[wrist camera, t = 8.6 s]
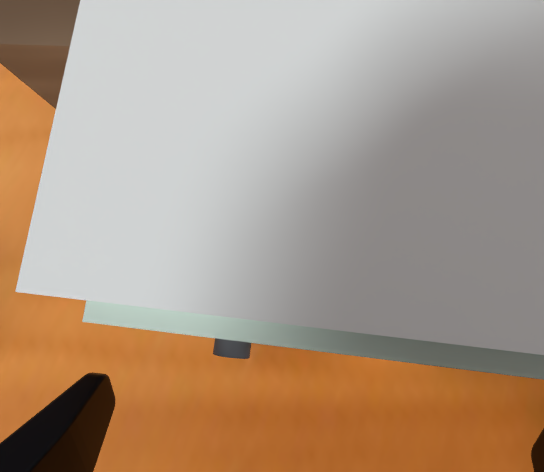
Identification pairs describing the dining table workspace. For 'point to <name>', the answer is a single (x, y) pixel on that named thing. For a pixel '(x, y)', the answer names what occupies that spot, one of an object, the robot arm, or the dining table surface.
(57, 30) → the wall board
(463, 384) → the dining table surface
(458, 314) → the white notched pillar
